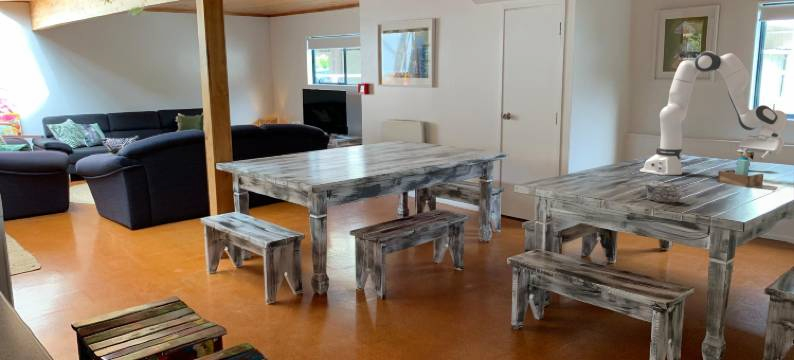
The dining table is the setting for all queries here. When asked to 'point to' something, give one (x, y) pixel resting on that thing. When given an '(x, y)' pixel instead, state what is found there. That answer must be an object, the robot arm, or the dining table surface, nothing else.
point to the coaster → (766, 187)
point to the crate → (739, 179)
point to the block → (742, 167)
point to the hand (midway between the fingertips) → (752, 157)
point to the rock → (662, 192)
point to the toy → (749, 154)
